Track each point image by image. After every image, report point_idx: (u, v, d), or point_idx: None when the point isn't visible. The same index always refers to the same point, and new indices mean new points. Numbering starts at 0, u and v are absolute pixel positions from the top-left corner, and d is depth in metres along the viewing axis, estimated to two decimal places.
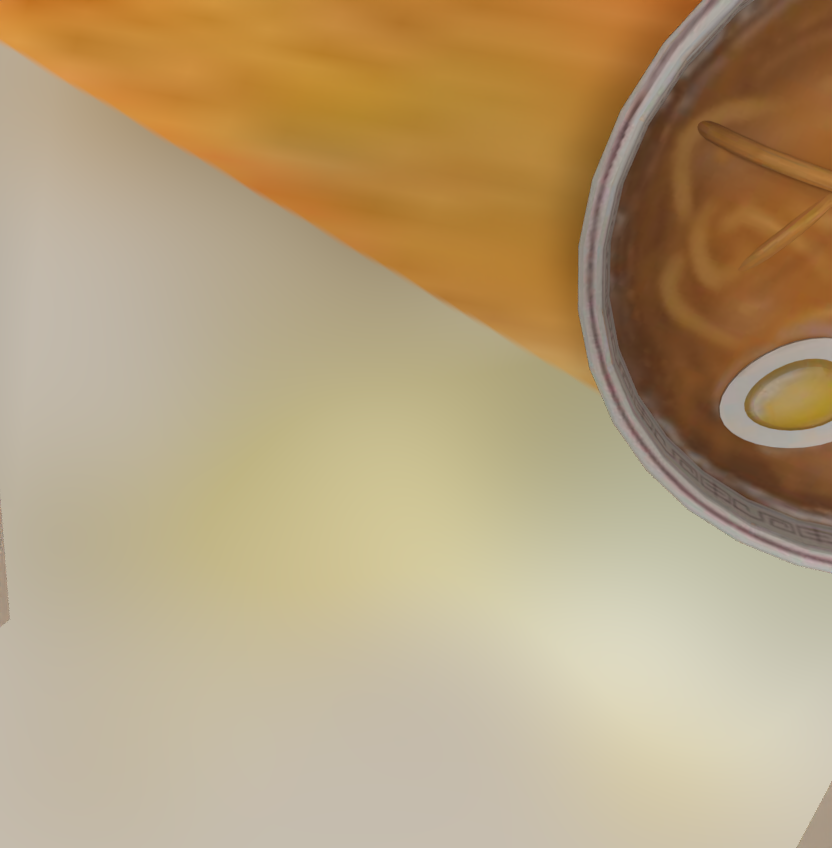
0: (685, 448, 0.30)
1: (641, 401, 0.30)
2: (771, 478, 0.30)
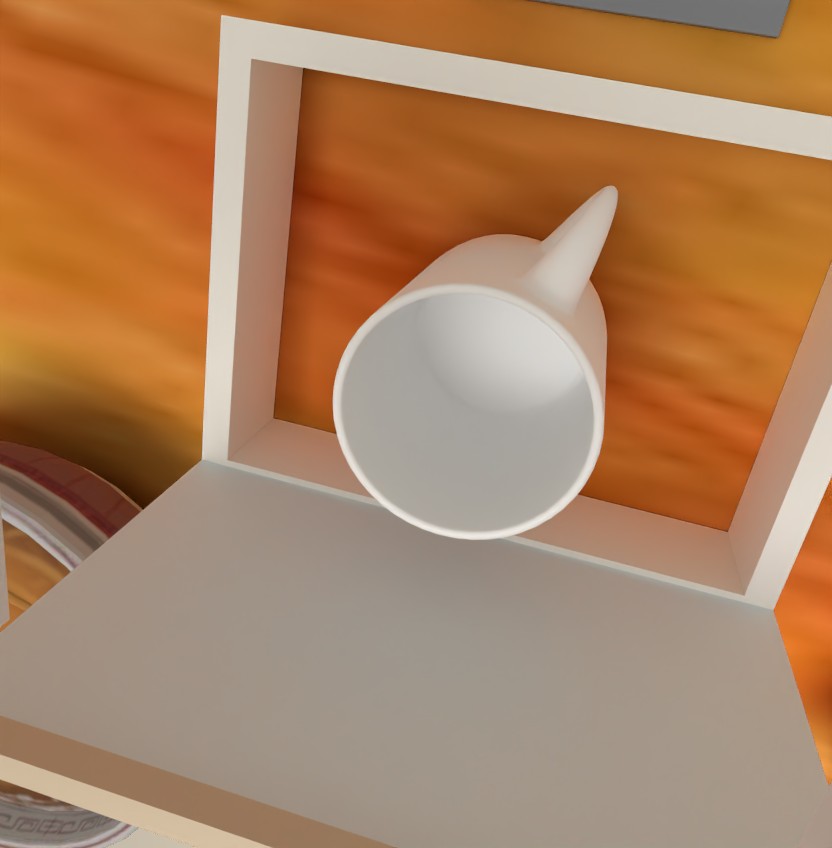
0: None
1: None
2: None
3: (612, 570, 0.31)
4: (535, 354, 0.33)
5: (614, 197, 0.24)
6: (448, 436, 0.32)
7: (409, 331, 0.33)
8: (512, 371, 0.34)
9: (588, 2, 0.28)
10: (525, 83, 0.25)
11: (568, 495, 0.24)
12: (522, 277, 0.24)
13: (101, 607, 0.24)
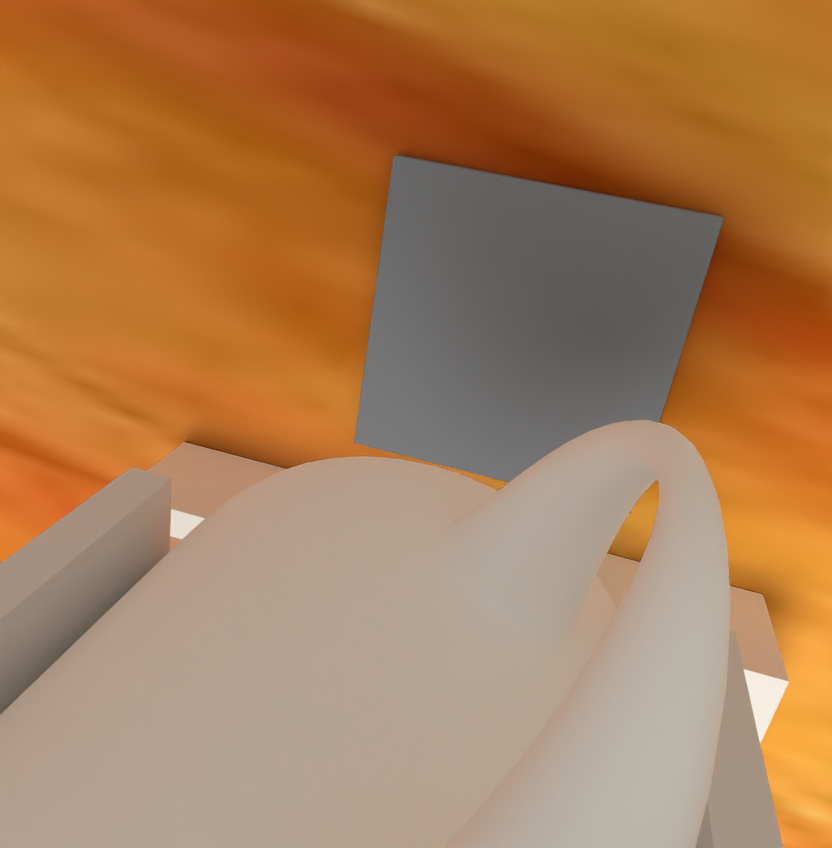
0: None
1: None
2: None
3: None
4: None
5: (722, 587, 0.05)
6: None
7: None
8: None
9: (459, 465, 0.30)
10: None
11: None
12: None
13: None
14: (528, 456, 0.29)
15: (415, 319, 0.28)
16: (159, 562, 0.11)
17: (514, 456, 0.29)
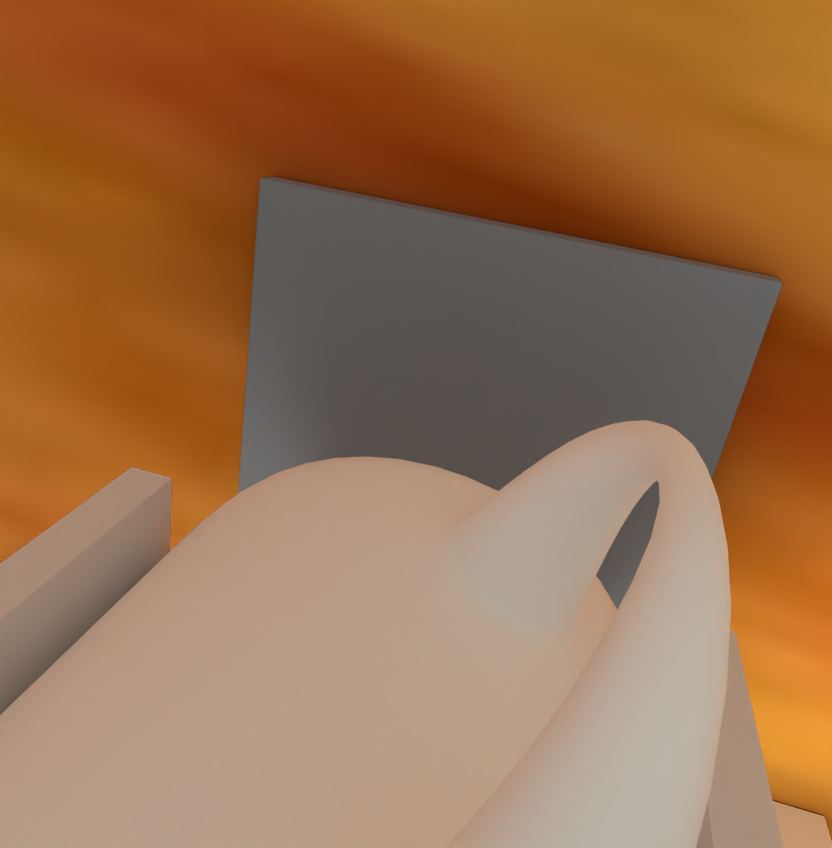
0: None
1: None
2: None
3: None
4: None
5: (722, 588, 0.05)
6: None
7: None
8: None
9: None
10: None
11: None
12: None
13: None
14: None
15: (307, 422, 0.19)
16: (159, 562, 0.11)
17: None
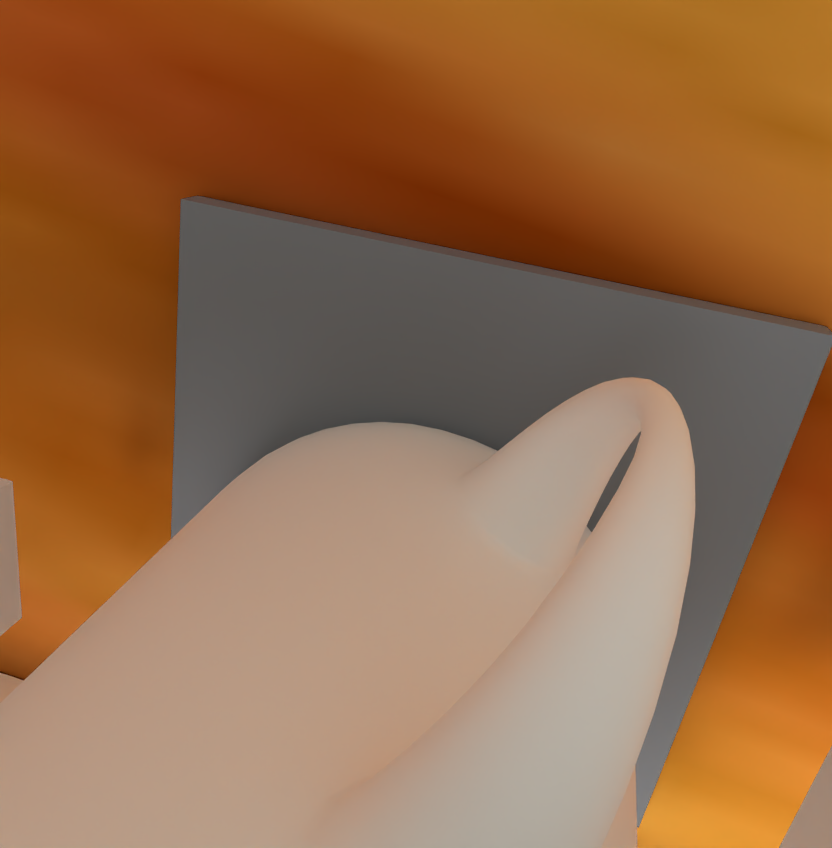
0: None
1: None
2: None
3: None
4: None
5: (687, 492, 0.06)
6: None
7: None
8: None
9: None
10: None
11: None
12: None
13: None
14: None
15: None
16: (197, 514, 0.12)
17: None
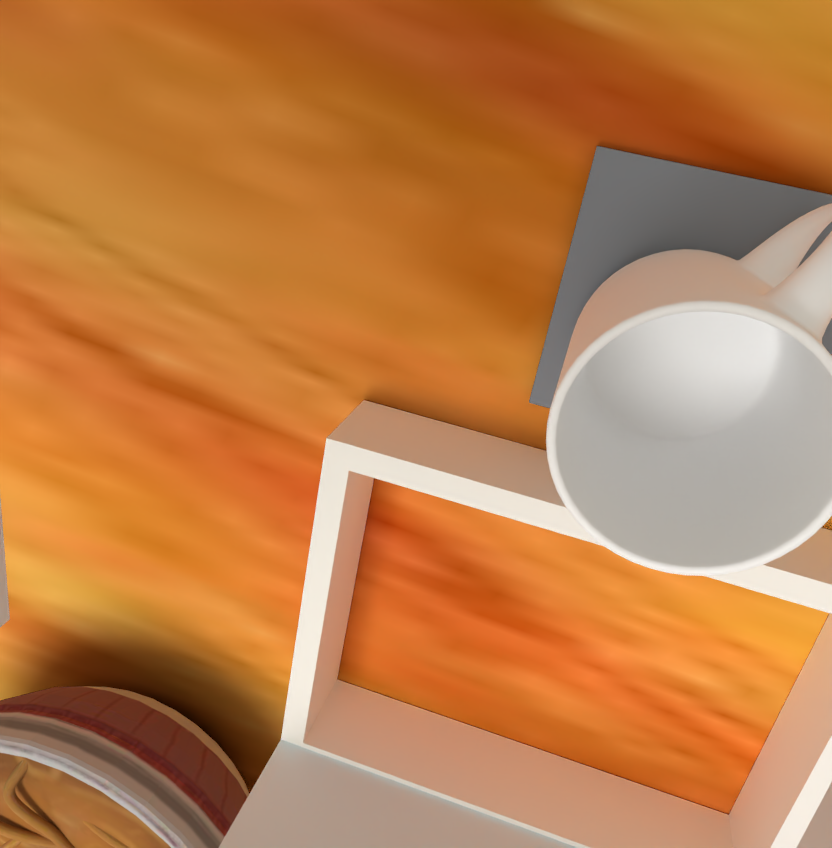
0: None
1: None
2: None
3: None
4: (708, 376, 0.32)
5: None
6: (621, 460, 0.30)
7: None
8: (680, 393, 0.32)
9: None
10: (573, 521, 0.31)
11: (806, 532, 0.22)
12: (766, 296, 0.22)
13: None
14: None
15: None
16: (615, 279, 0.29)
17: None
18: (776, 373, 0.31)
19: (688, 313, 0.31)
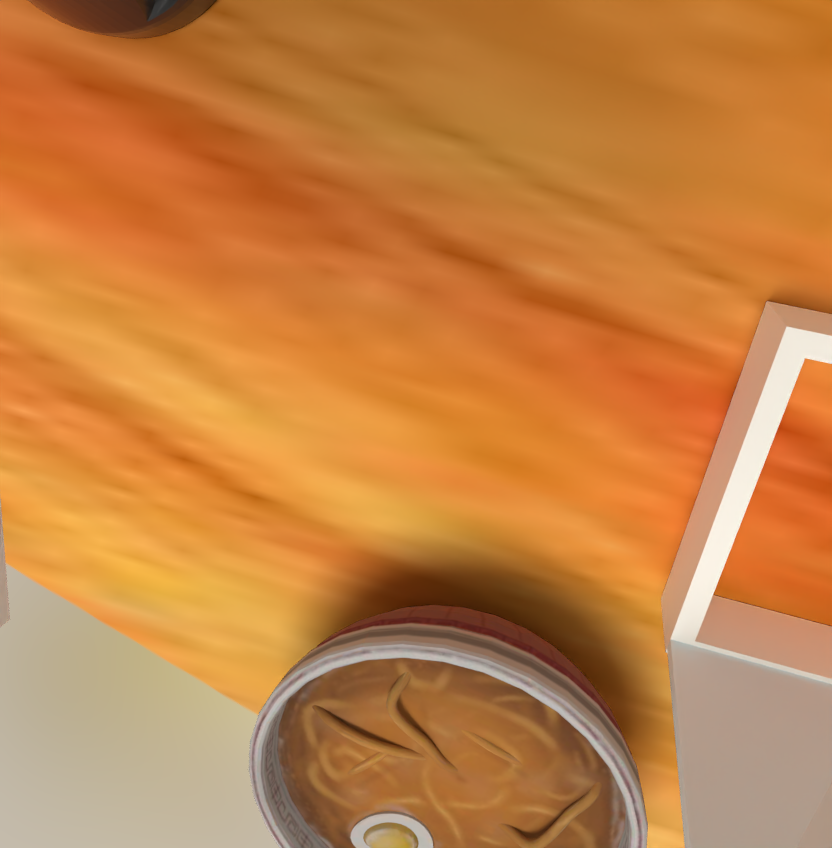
0: None
1: (309, 827, 0.49)
2: None
3: None
4: None
5: None
6: None
7: None
8: None
9: None
10: None
11: None
12: None
13: (732, 806, 0.31)
14: None
15: None
16: None
17: None
18: None
19: None
